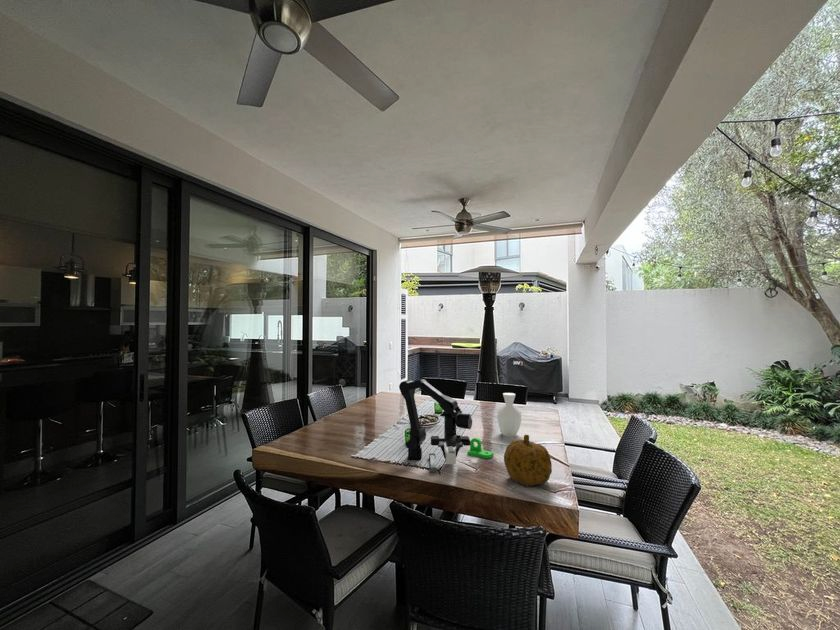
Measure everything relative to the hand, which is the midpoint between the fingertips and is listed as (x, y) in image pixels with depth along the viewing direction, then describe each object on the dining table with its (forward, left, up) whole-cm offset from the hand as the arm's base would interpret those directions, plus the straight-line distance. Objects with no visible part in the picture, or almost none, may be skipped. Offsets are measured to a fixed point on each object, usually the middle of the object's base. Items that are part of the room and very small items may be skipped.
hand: (450, 458), depth 170 cm
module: (0, 0, -1) cm, 1 cm away
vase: (+41, +48, -4) cm, 63 cm away
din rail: (-8, -1, -4) cm, 9 cm away
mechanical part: (+17, +14, -4) cm, 22 cm away
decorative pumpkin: (+33, -16, -4) cm, 37 cm away
